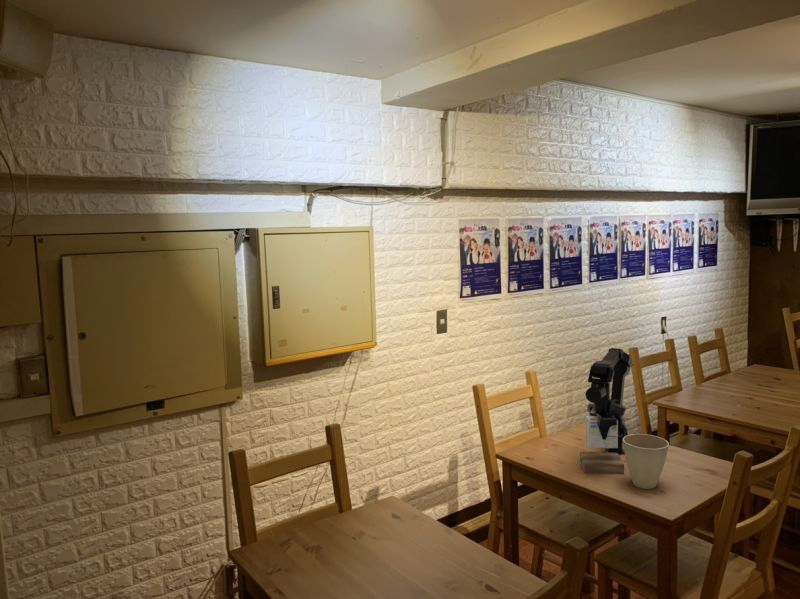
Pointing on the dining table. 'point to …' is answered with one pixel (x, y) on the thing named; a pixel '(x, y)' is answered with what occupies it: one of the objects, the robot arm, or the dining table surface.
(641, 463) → the plant pot
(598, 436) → the light bulb box
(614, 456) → the walnut block
